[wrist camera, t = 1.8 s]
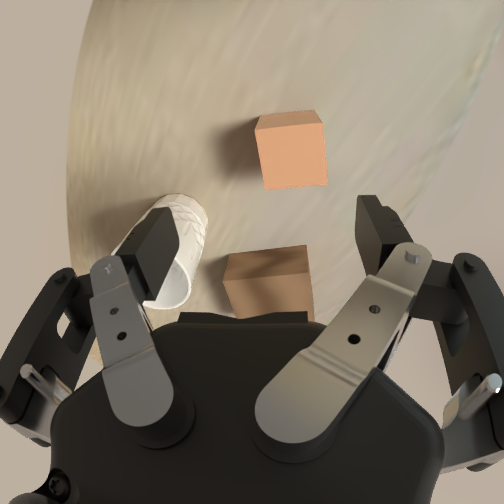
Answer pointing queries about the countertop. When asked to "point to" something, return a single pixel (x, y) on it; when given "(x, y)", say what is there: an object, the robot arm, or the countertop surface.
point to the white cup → (180, 249)
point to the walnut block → (269, 282)
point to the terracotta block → (291, 149)
